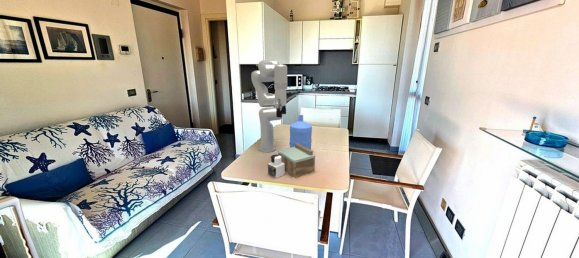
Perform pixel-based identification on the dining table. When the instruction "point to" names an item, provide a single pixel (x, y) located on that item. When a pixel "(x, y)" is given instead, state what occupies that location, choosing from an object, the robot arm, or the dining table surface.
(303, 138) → the water jug
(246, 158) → the dining table surface
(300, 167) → the wooden box
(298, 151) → the lid
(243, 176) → the dining table surface
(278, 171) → the medicine bottle
